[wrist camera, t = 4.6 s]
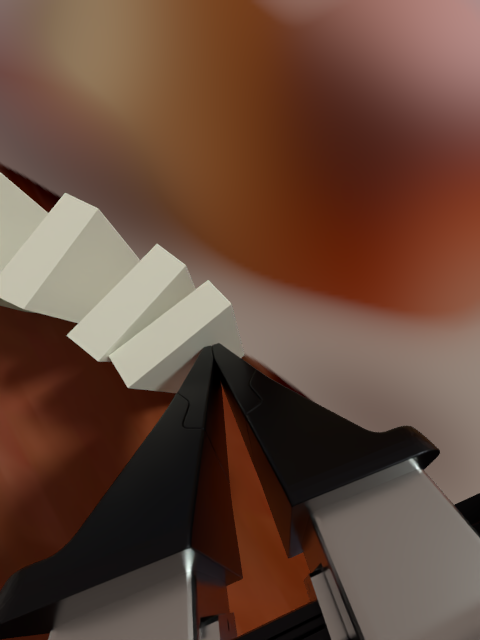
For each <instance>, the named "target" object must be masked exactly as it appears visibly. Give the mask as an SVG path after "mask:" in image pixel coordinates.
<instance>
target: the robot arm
mask: <svg viewBox="0 0 480 640" xmlns="http://www.w3.org/2000/svg"><path fill="white" fill-rule="evenodd" d="M221 384H222V386H221ZM222 387H223V389H224V392H225V394H226V397H227V399H228V402H229V404H230V407H231V409H232V412H233V414H234V417H235V419H236V422H237V424H238V427H239V429H240V432H241V435H242V437H243V440H244V442H245V445H246V447H247V450H248V452H249V455H250V457H251V460H252V462H253V465H254V467H255V470H256V472H257V475H258V477H259V480H260V482H261V485H262V488H263V490H264V493H265V496H266V499H267V501H268V504H269V507H270V510H271V512H272V515H273V518H274V521H275V524H276V526H277V529H278V532H279V535H280V537H281V540H282V543H283V546H284V548H285V551H286V554H287V557H288V558H291V557H293V556H296V555H298V554H300V553H302V552H303V553H304V556H305V559H306V562H307V565H308V568H309V570H310V574H308V576H307V577H306V578H305V579H304V583H305V587H306V590H307V593H308V596H309V599H310V603H307V604H305V605H303V606H301V607H299V608H297V609H295V610H293V611H291V612H289V613H286V614H284V615H282V616H280V617H278V618H276V619H274V620H272V621H270V622H268V623H266V624H263V625H261V626H259V627H257V628H255V629H253V630H251V631H249V632H247V633H245V634H243V635H240V636H238V637H237V631H236V624H235V616H234V613H230V611H229V603H228V595H227V587H226V586H227V585H230V584H232V583H234V582H236V581H239V580H241V579H242V578H243V576H242V568H241V562H240V555H239V548H238V542H237V535H236V528H235V522H234V515H233V508H232V501H231V493H230V484H229V483H230V481H229V469H228V457H227V445H226V433H225V421H224V409H223V397H222ZM439 454H440V450H439V449H438V448H437V447H436V446H435V445H434V444H433V443H432V442H431V441H430V440H428V439H427V437H425V436H424V435H423V434H422V433H420V432H419V431H418V430H416V429H415V428H413V427H411V426H401V427H397V428H394V429H391V430H389V431H386V432H381V433H379V432H372V431H368V430H366V429H364V428H362V427H360V426H358V425H356V424H354V423H352V422H350V421H348V420H347V419H345V418H343V417H341V416H339V415H337V414H335V413H334V412H331V411H330V410H327V409H326V408H324V407H322V406H320V405H318V404H317V403H315V402H313V401H311V400H309V399H307V398H305V397H303V396H301V395H300V394H298V393H296V392H294V391H292V390H290V389H288V388H286V387H284V386H283V385H281V384H279V383H277V382H275V381H274V380H272V379H270V378H268V377H267V376H265V375H264V374H262V373H261V372H260V371H258V370H256V369H255V368H254V367H252V366H251V365H249V364H248V363H247V362H245V361H244V360H242V359H241V358H240V357H238V356H237V355H235V354H234V353H233V352H231V351H230V350H229V349H227V348H226V347H224V346H223V345H222V344H220V343H217V344H214V345H212V346H211V345H210V346H206V347H204V348H203V349H202V351H201V353H200V354H199V356H198V358H197V359H196V361H195V363H194V365H193V366H192V368H191V370H190V371H189V373H188V375H187V377H186V378H185V380H184V382H183V383H182V385H181V387H180V389H179V390H178V392H177V394H176V395H175V397H174V398H173V400H172V402H171V403H170V405H169V407H168V408H167V410H166V411H165V413H164V414H163V415H162V417H161V418H160V420H159V421H158V423H157V424H156V425H155V427H154V428H153V429H152V431H151V432H150V433H149V435H148V436H147V438H146V439H145V440H144V442H143V443H142V444H141V446H140V447H139V448H138V450H137V451H136V453H135V454H134V455H133V457H132V458H131V459H130V461H129V462H128V463H127V465H126V466H125V468H124V469H123V470H122V472H121V473H120V474H119V476H118V477H117V478H116V480H115V481H114V483H113V484H112V485H111V487H110V488H109V489H108V491H107V492H106V493H105V495H104V496H103V498H102V499H101V500H100V502H99V503H98V504H97V506H96V507H95V508H94V510H93V511H92V513H91V514H90V515H89V517H88V518H87V519H86V521H85V522H84V523H83V525H82V526H81V528H80V529H79V530H78V532H77V533H76V534H75V535H74V537H73V538H72V539H71V540H70V542H68V543H67V544H66V545H65V546H64V547H63V548H62V549H61V550H60V551H58V552H57V553H56V554H54V555H53V556H51V557H49V558H47V559H44V560H41V561H39V562H36V563H33V564H31V565H29V566H26V567H24V568H22V569H20V570H19V571H17V572H15V573H14V574H13V575H12V576H11V577H10V578H9V579H8V580H7V581H6V583H5V585H4V586H3V588H2V590H1V591H0V639H6V638H14V637H22V636H30V635H38V634H46V633H50V635H49V639H48V640H480V493H479V494H477V495H475V496H473V497H471V498H468V499H466V500H464V501H462V502H459V503H457V504H455V505H454V504H453V503H452V502H451V501H450V500H449V499H448V498H447V496H446V495H445V494H444V493H443V492H442V491H441V490H440V488H439V487H438V486H437V485H436V484H435V482H434V481H433V480H432V479H431V478H430V477H429V476H428V474H427V473H426V472H425V471H424V469H425V468H426V467H427V466H428V465H429V464H430V463H431V462H432V461H433V460H434V459H436V458H437V457H438V455H439Z"/></svg>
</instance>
